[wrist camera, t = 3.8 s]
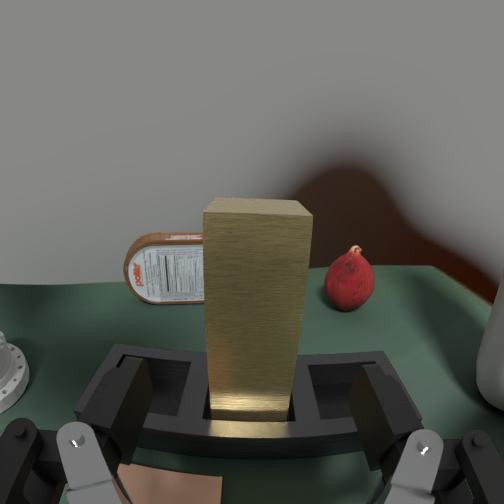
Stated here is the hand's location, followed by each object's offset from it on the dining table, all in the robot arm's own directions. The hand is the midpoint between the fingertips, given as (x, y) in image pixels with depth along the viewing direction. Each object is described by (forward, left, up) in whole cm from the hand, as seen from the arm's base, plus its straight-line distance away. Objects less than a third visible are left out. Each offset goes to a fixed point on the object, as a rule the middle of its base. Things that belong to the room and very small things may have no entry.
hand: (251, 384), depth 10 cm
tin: (+11, +21, -9) cm, 26 cm away
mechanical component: (-14, +19, -9) cm, 25 cm away
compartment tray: (+4, +4, -9) cm, 10 cm away
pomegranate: (+23, +7, -9) cm, 26 cm away
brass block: (+4, +4, -8) cm, 10 cm away
